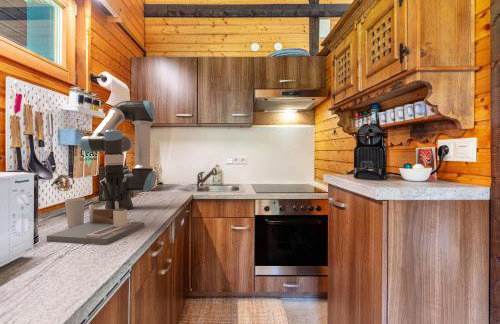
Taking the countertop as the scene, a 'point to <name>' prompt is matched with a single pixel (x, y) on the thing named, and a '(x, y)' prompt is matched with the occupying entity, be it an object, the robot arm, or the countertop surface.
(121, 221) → the fader knob
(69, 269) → the countertop surface
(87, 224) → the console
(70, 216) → the cup
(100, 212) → the door
